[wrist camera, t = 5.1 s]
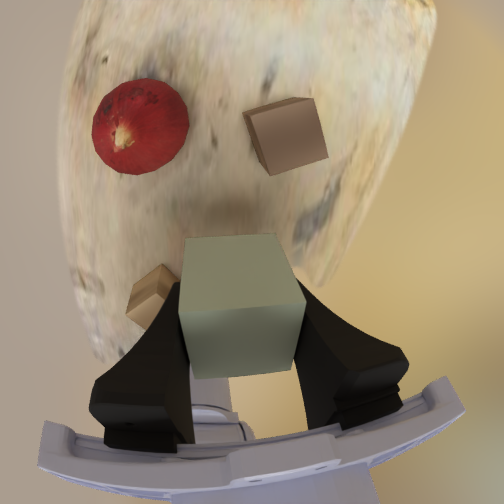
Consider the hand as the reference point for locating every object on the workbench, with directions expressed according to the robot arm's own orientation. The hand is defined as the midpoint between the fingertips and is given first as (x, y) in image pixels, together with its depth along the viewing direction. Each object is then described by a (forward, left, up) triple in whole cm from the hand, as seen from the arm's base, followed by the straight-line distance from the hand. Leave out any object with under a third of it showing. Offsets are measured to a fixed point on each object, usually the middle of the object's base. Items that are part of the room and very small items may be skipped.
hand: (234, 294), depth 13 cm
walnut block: (+7, -4, -10) cm, 13 cm away
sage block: (0, 0, -2) cm, 2 cm away
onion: (+8, +5, -10) cm, 14 cm away
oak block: (-7, +6, -10) cm, 14 cm away
